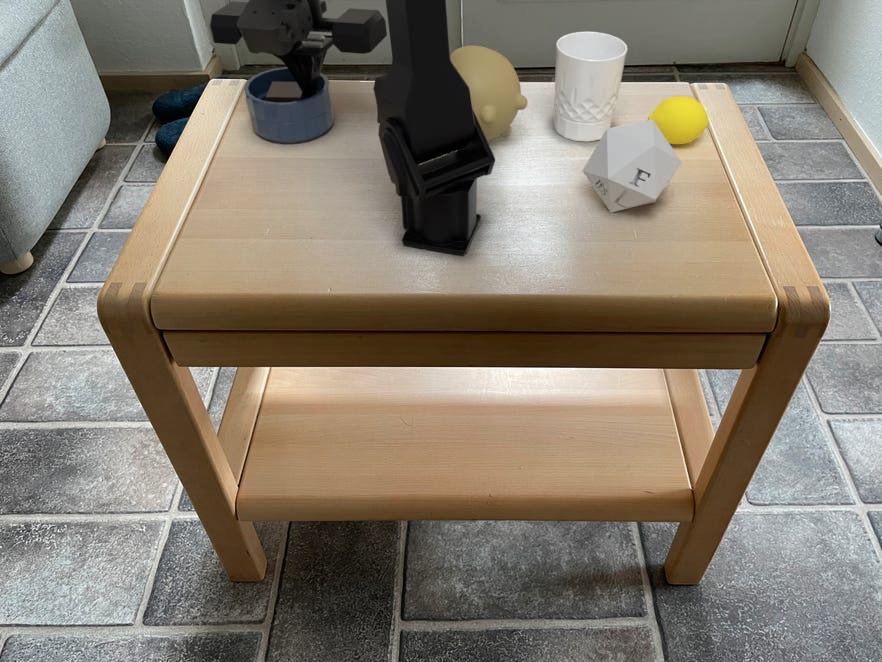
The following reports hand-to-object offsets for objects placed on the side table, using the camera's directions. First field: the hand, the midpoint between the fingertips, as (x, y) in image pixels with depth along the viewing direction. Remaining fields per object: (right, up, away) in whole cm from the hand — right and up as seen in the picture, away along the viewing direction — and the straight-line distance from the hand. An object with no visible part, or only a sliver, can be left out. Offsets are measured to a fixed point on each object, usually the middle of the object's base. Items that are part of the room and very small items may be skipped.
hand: (311, 102), depth 87 cm
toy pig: (+19, -4, +1) cm, 19 cm away
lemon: (+43, -4, +1) cm, 43 cm away
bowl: (-3, -2, +2) cm, 4 cm away
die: (+35, -13, -8) cm, 38 cm away
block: (-3, -2, +2) cm, 4 cm away
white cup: (+32, -2, +3) cm, 32 cm away
